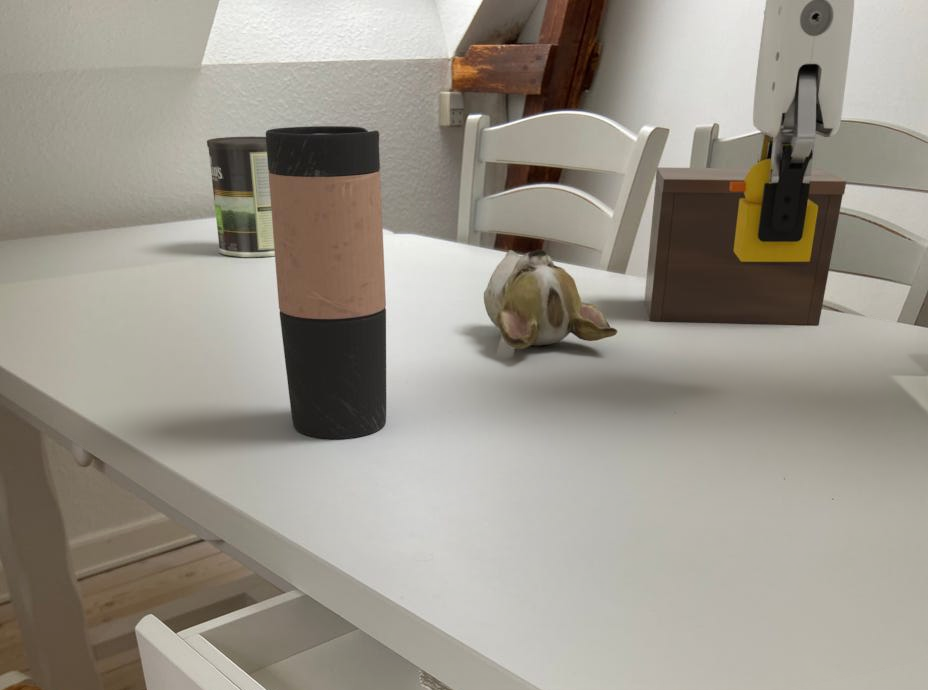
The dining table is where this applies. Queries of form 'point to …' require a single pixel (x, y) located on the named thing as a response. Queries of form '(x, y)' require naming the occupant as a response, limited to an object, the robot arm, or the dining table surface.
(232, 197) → the coffee can
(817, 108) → the robot arm
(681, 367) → the dining table surface
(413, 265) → the dining table surface
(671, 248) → the wooden nightstand cabinet
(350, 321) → the travel mug
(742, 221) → the duck
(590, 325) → the ceramic sculpture
